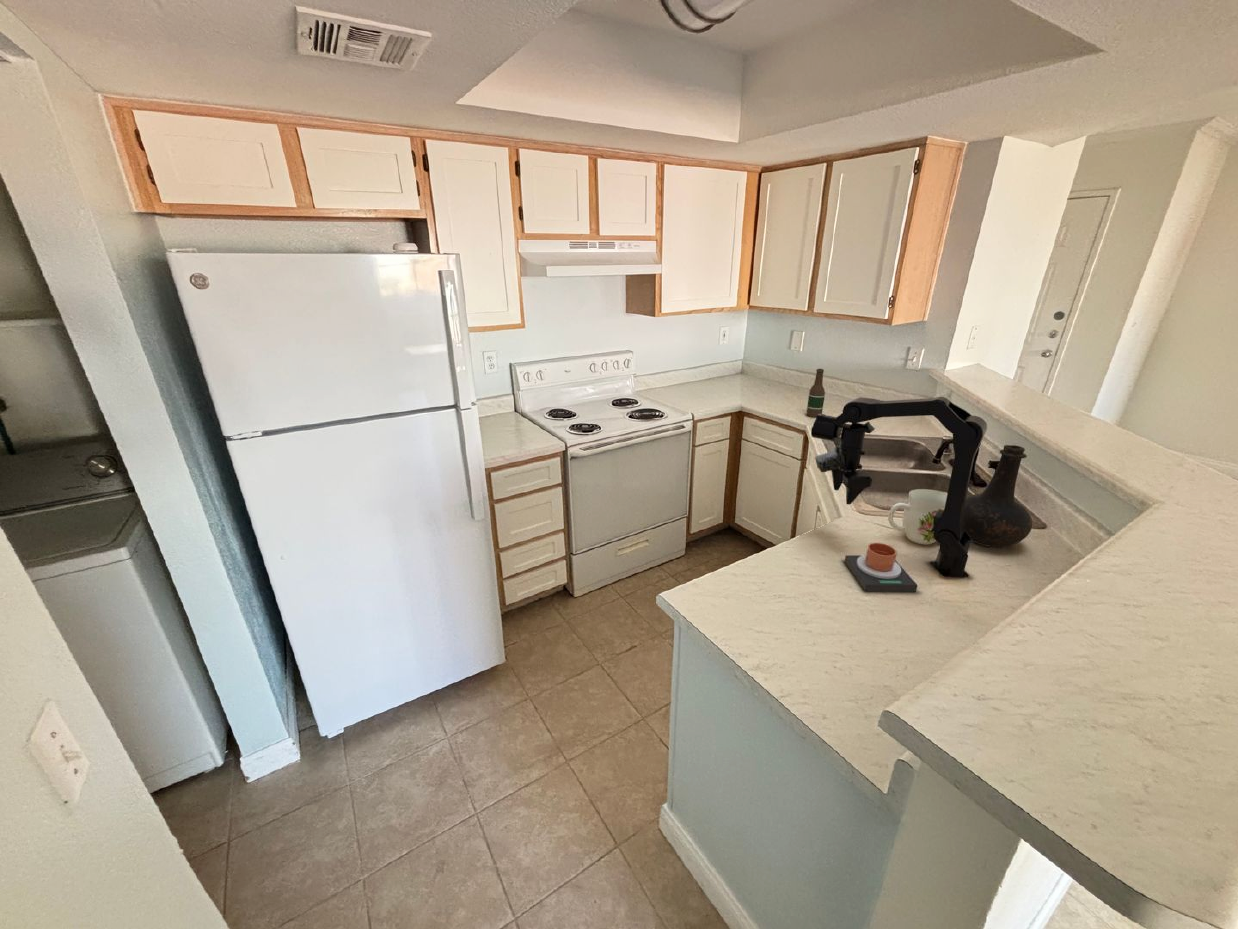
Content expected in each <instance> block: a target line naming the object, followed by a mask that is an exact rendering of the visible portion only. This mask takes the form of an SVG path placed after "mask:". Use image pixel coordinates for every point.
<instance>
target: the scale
mask: <svg viewBox="0 0 1238 929" xmlns="http://www.w3.org/2000/svg"><path fill="white" fill-rule="evenodd" d="M865 557H866V554H861V555H860V554H859V555H856V554H855V555H854V554H852V555H851V554H845V556H844V563H845V565H846V566H847V568H848V569H849V571H850V572H851V574H852V575H853V577H854V578H855V579H856V581H857V582H858V584H859V585H860V587H861V588H862V590H863V591H864V592H880V593H881V592H882V593H883V592H884V593H885V592H886V593H888V592H892V593H893V592H894V593H916V592H917V588H918V584H917V583H916V581H914V579H913V578H912V577H911V576H910V575H909V574H908V572H907V571H906V570H905V569H904V568H903V566H902V565H901V564H900V563H899V562H898V561H897V559H895V563H894V567H893V568H892V569H891V570H890V571H878V570H874V569H872V568H870V567H869V566H868V565H867V564H866V562H865Z"/></svg>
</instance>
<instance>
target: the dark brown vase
mask: <svg viewBox="0 0 1238 929" xmlns="http://www.w3.org/2000/svg"><path fill="white" fill-rule="evenodd" d="M1025 451H1026V449H1025V447H1023V446H1021V445H1015V444H1011V445H1010V444H1004V446H1003V449H1000V450H999V454H1001V455H1000V458H999V461H998V463H997V466H996V469H995V470H994V472H993V475H992V477H991V480H989V483H988V484H987V485H986V487H985V489H984V490H983V491H981V493H977V494H970V495H966V500H965V504H964V514H965V530H966V532H967V533H968V534H969V535H970V537H971V538H972V539H973V541H972V542H973V543H976V544H979V545H981V546H984V547H985V546H986V547H989V548H1007V547H1011V546H1013V545H1016V544H1018V543H1020V542H1022V541H1023V540H1025V539H1026V538H1027V537H1028V536H1029V534H1030V533H1031V531H1032V528H1033V519H1032V516H1031V515H1030V513H1029V512H1028V510H1027V509H1026V508H1025V507H1024V506H1022V504H1020V503H1019V502H1017V501H1016V500H1015V492H1016V491H1015V490H1016V483H1017V479H1018V474H1019V470H1020V467H1021V462H1022V459H1026V458H1027V457H1028V456H1027V454H1026V453H1025Z"/></svg>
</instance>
